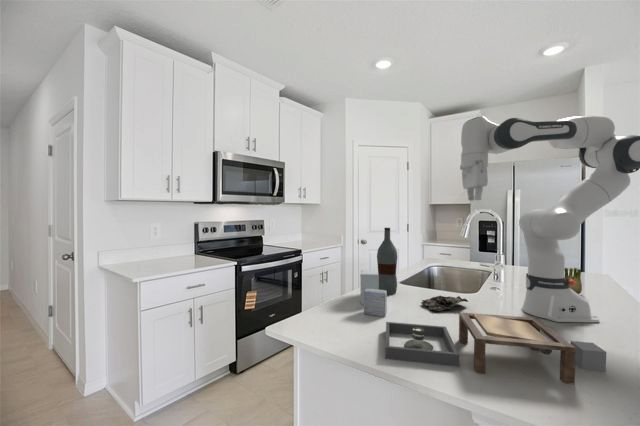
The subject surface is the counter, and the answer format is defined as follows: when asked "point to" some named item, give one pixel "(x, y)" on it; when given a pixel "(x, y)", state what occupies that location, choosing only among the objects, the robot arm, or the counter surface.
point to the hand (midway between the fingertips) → (474, 200)
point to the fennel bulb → (575, 277)
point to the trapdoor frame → (518, 343)
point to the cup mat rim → (421, 354)
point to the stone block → (589, 356)
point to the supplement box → (368, 282)
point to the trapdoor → (510, 329)
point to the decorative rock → (442, 302)
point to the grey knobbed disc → (418, 340)
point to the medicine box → (375, 302)
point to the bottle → (387, 264)
